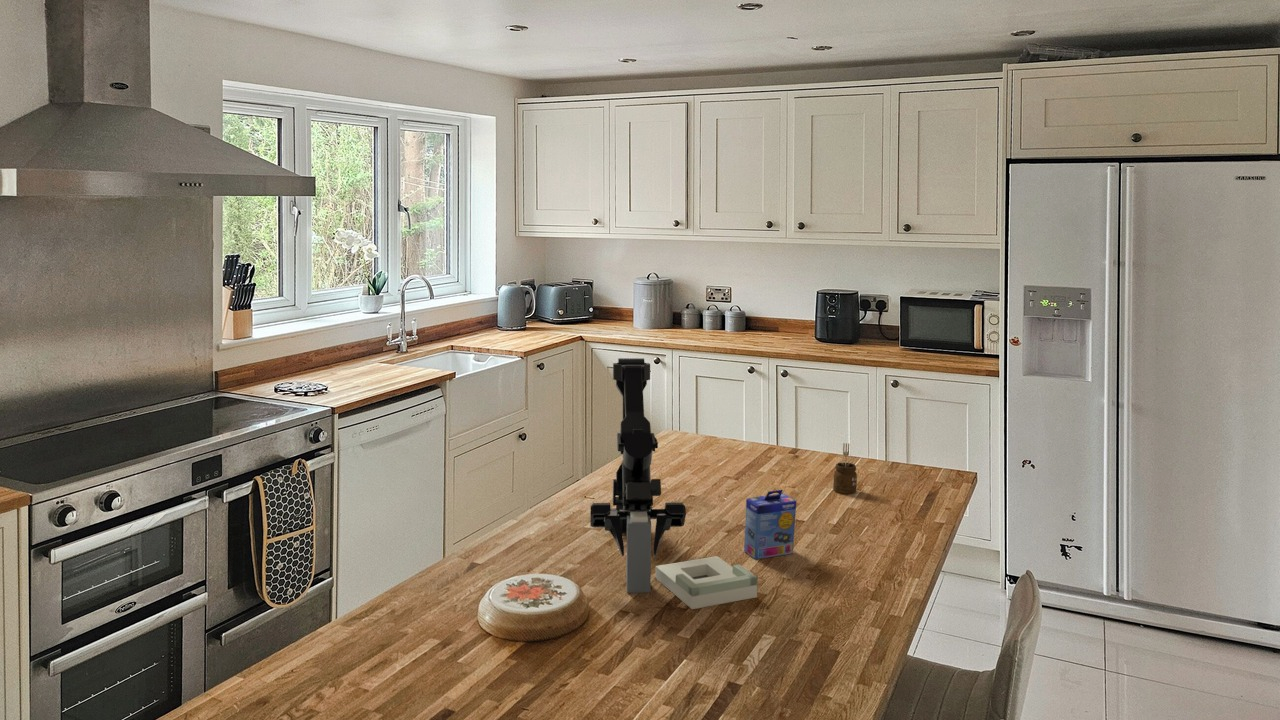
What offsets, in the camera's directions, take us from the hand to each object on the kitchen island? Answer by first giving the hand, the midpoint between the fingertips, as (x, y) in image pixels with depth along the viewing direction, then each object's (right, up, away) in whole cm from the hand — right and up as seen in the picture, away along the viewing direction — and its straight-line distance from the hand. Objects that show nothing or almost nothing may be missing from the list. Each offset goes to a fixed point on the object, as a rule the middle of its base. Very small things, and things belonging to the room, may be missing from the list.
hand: (638, 555), depth 188 cm
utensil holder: (+54, +3, +66) cm, 85 cm away
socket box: (+13, -7, +3) cm, 15 cm away
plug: (0, -7, +3) cm, 7 cm away
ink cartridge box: (+28, -4, +22) cm, 36 cm away
